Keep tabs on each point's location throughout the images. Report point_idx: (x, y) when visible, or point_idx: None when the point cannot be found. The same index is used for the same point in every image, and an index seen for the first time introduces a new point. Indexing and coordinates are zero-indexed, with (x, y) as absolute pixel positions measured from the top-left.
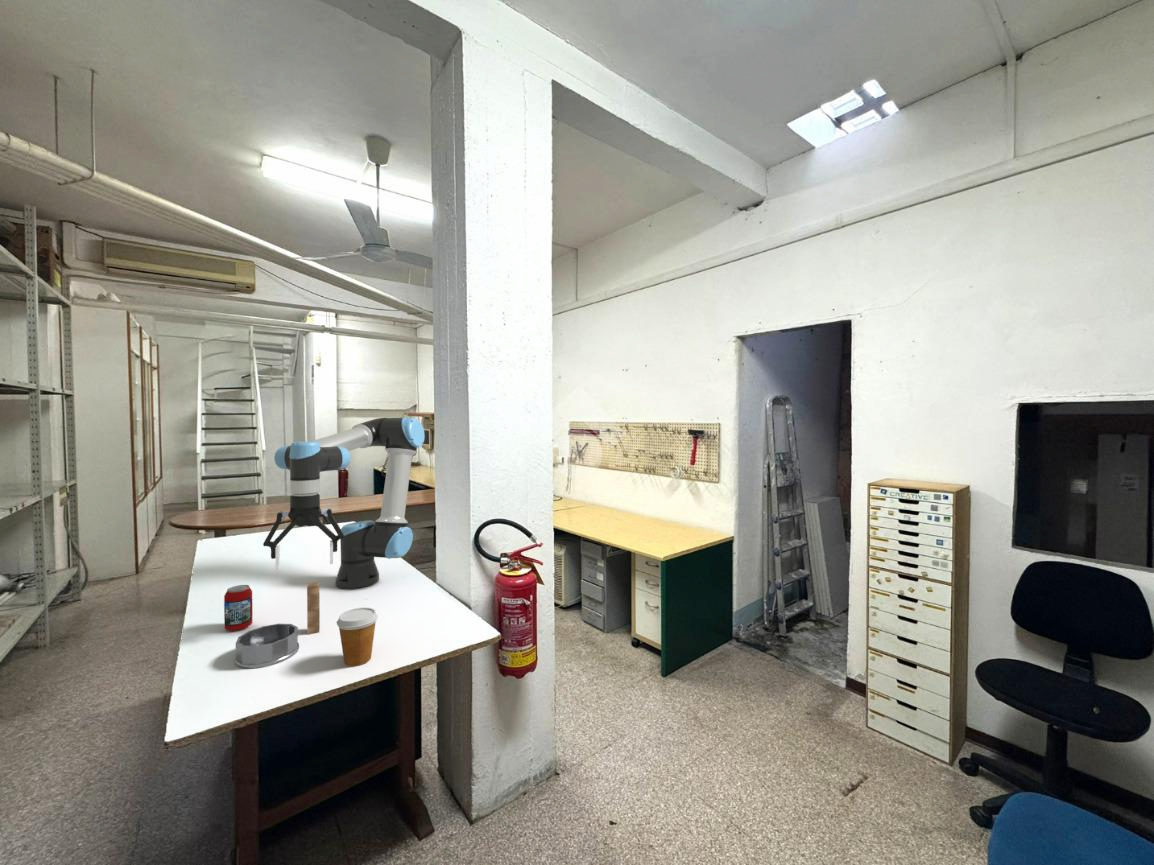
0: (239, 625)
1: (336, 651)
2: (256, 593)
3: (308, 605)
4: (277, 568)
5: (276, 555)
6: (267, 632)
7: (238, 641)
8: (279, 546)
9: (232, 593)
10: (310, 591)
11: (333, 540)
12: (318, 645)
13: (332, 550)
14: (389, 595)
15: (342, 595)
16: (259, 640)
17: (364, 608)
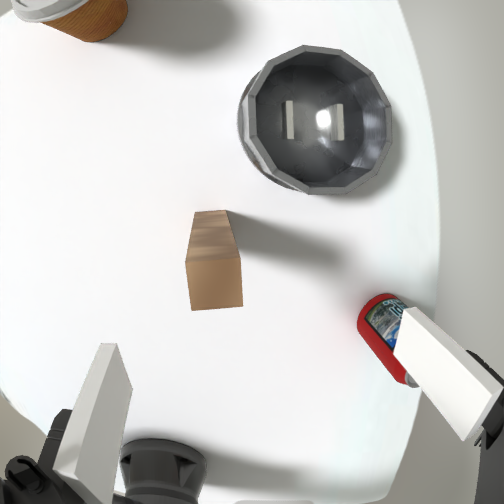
0: (382, 299)
1: (141, 70)
2: (342, 448)
3: (227, 231)
4: (414, 314)
5: (467, 357)
6: (329, 184)
7: (387, 111)
8: (467, 430)
9: None
10: (223, 250)
11: (47, 483)
12: (188, 122)
13: (75, 412)
14: (69, 381)
15: (178, 419)
16: (339, 176)
17: (28, 8)
